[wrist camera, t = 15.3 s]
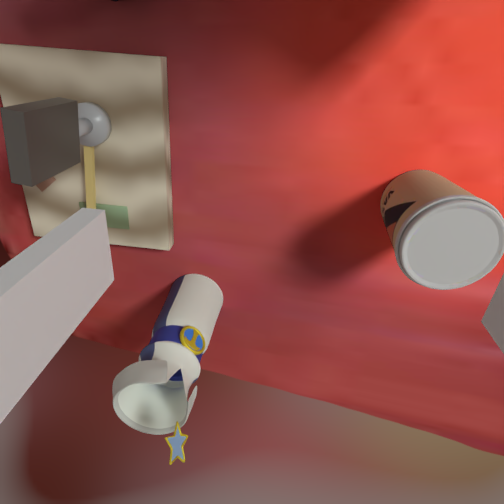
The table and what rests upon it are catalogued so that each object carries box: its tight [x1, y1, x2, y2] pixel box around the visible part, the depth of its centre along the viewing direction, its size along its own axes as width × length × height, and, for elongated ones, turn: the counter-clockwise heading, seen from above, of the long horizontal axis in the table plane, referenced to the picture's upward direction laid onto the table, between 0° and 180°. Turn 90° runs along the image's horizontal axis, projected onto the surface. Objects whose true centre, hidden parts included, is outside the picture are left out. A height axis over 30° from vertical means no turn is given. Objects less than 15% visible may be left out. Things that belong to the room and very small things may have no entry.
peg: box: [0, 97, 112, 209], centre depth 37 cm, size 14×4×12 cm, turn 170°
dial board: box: [0, 44, 174, 250], centre depth 43 cm, size 22×18×2 cm
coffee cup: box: [380, 170, 504, 290], centre depth 38 cm, size 9×9×12 cm
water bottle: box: [113, 274, 223, 465], centre depth 42 cm, size 8×9×25 cm
